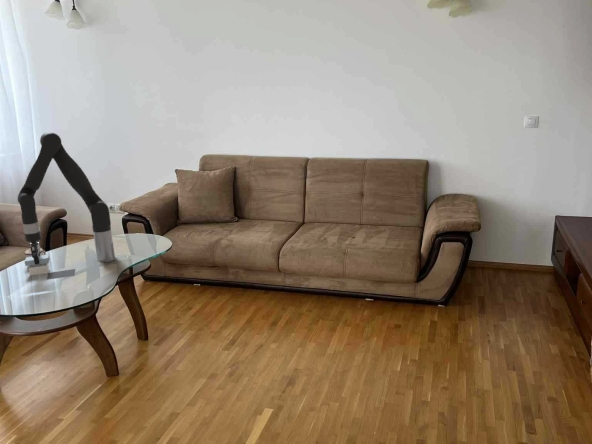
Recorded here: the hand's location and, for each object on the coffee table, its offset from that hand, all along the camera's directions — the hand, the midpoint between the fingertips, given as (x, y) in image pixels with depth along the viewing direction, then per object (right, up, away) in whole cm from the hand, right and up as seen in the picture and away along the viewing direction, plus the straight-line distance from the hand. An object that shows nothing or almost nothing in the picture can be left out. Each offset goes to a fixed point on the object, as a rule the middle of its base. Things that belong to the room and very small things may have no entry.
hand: (37, 261), depth 287 cm
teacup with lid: (-6, -3, +14) cm, 16 cm away
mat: (+13, -7, -2) cm, 15 cm away
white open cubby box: (0, -6, +2) cm, 7 cm away
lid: (0, 0, 0) cm, 0 cm away
